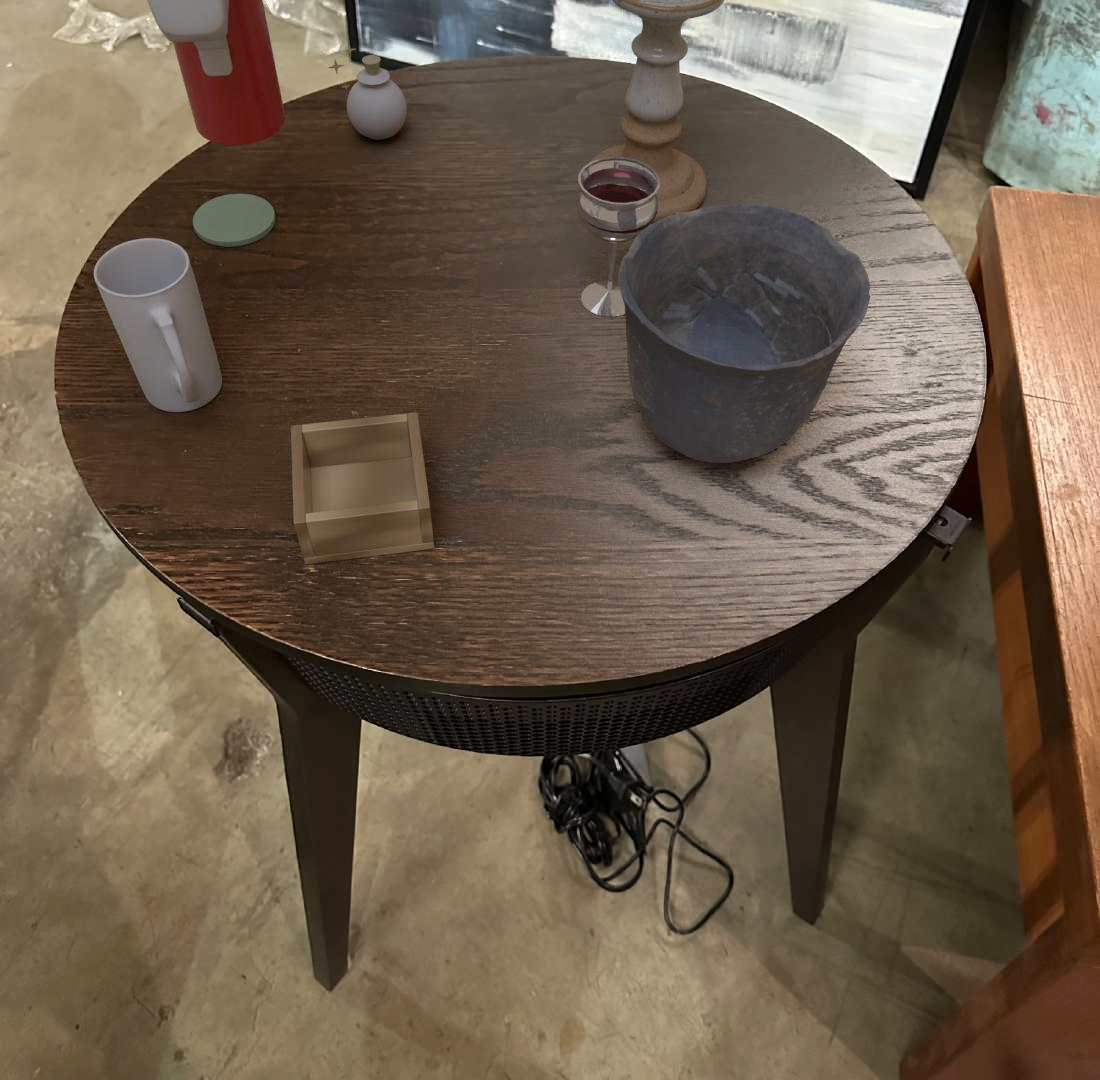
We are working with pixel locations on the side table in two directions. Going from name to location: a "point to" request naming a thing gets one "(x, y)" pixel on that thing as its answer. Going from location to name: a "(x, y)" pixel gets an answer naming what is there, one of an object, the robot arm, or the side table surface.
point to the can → (236, 82)
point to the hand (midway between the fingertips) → (221, 41)
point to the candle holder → (661, 102)
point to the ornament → (375, 101)
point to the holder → (360, 488)
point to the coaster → (234, 220)
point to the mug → (160, 322)
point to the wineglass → (615, 217)
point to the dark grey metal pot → (736, 325)
